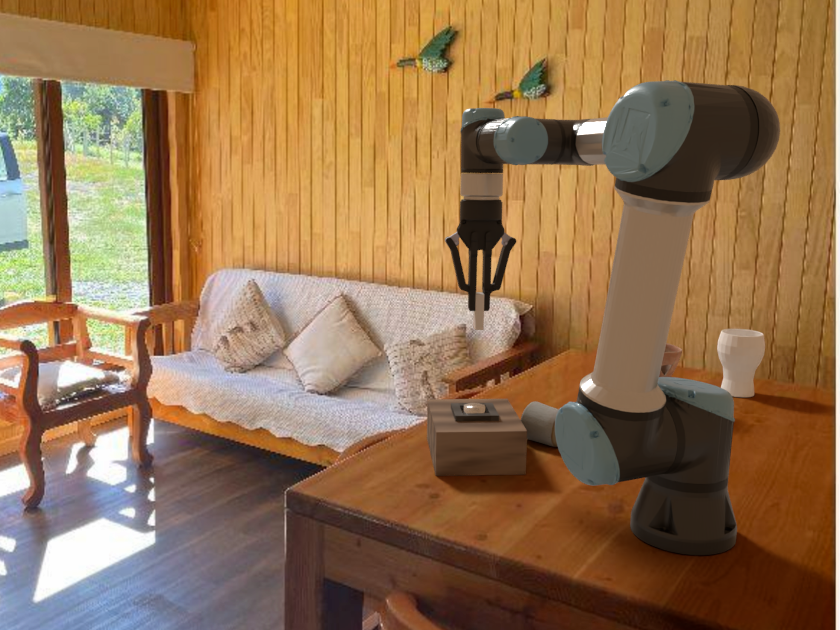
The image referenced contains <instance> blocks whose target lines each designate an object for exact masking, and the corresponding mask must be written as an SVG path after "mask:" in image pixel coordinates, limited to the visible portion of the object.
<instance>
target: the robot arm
mask: <svg viewBox="0 0 840 630" xmlns="http://www.w3.org/2000/svg"><path fill="white" fill-rule="evenodd" d="M505 116H506V115H505V112H504V110H503V109H501V108H498V107H497V108H494V107H476V108H474V107H473V108H466V109H465V110H464V111H463V113H462V115H461V120H462V121H461V128H460V131H459V133H460V193H459V194H460V196H461V197H463V199H461V200H460V201H459V223H458V225H457V228H456V232H455V233H453V234H451V235H450V236H446V237H445V238H444V242H445V244H446V246H447V247H448V249H449V250H450V255H451V259H452V264H453V268H454V272H455V277H456V282H457V286H458V288H459V290H461V291H464V292H467V308H468V311H469V312H473V325H472V326H473V328H474V330H475V331H484V328H485V327H484V326H485V325H484V323H485V312H489V311H490V308H491V307H490V306H491V294H492V293H493V292H495V291H499V290H500V289H501V287H502V283H503V279H504V276H505V273H506V269H507V266H508V262H509V257H510V253H511V252H512V249H513V248H514V246H515V245H516V244H517V239H516V238H515V237H513V236H511V235H509V234H508V233H506V232H505V227H504V226H503V201H502V200H501V199H500V197H502V196H503V193H504V165H513V166H518V165H520V166H526V165H545V166H547V165H558V166H559V165H560V166H561V165H563V166H564V165H565V166H566V165H568V166H584V167H585V166H586V167H587V166H589V167H590V166H596V165H597V166H598V165H600V166H601V165H603V166H604V165H605V166H606V169H607V170H608V172H610V174H611V175H612V176H613V177H615V181H614V190H615V191H616V193H617V194H618V196H619V197H620V198H621V199H622V201H623V207H622V212H621V218H620V222H619V223H620V224H619V229H618V234H617V239H616V246H615V251H614V258H613V263H612V268H611V273H610V277H609V278H610V279H609V283H608V284H609V285H608V289H607V290H608V291H607V295H606V301H605V306H604V311H603V318H602V324H601V329H600V334H599V339H598V345H597V350H596V357H595V361H594V367H593V371H592V372H591V373H588V374H587V375H585V376H584V377H583V378H581V380H580V381H579V382H580V383H579V386H578V387H579V388H578V393H577V398H576V401H568V402H567V403H565V404H563V406H561V407H560V408H558V409H559V411H558V413H557V415H556V419H555V436H556V442H557V446H558V447H557V449H558V452H559V454H560V456H561V459H562V461H563V463H564V465H565V467H566V468H567V470H568V471H569V472H570V474H571V475H573V477H574V478H575V479H577V480H578V481H579V482H581V483H583V484H584V485H588V486H593V487H594V486H595V487H596V486H603V485H609V486H613V485H616V484H618V483H622V482H628V481H632V480H633V481H634V480H638V479H644V480H643V483H642V485H641V487H640V489H639V492H638V495H637V497H636V499H635V501H634V503H633V506H632V509H631V511H630V525H629V526H630V530H631V532H632V534H633V535H634V536H636V537H637V538H638V539H639V540H641V541H642V542H645V543H646V544H647V545H651V546H652V547H655V548H658V549H660V550H664V551H665V552H670V553H675V554H682V555H689V556H708V555H709V556H710V555H715V554H721V553H724V552H727V551H729V550H731V549H732V548H733V547H735V545H736V542H737V533H738V524H737V521H736V516H735V513H734V509H733V506H732V501H731V498H730V497H731V496H730V494H729V487H728V486H729V477H730V476H729V474H730V467H731V454H732V444H733V443H732V442H733V433H734V424H735V421H736V419H735V417H734V414H735V401H734V396H731V394H730V393H729V392H728V391H726V390H724V389H722V388H721V386H717V385H715V384H711V383H707V382H703V381H699V380H695V379H690V378H689V379H688V378H682V377H675V376H671V377H659V375H660V370H661V365H662V361H663V356H664V351H665V347H666V343H667V341H668V337H669V332H670V327H671V322H672V318H673V313H674V309H675V304H676V299H677V294H678V290H679V285H680V281H681V277H682V270H683V268H684V267H683V266H684V262H685V258H686V254H687V253H686V252H687V248H688V242H689V239H690V234H691V229H692V225H693V220H694V215H695V213H696V212H697V211H699V210H701V208H703V207H704V206H706V205H708V204H709V203H710V201H711V198H712V192H713V188H714V185H715V184H714V183H715V181H731V180H736V179H741V178H742V179H743V178H745V177H747V176H750V175H752V174H754V173H755V172H757V171H759V170H760V169H761V168H762V167H763V166H765V165H766V164H767V163H768V161H769V160H770V159H771V158H772V156H773V155H774V153H775V151H776V150H777V147H778V145H779V141H780V135H781V124H780V123H781V122H780V118H779V115H778V112H777V110H776V108H775V107H774V105H773V104H772V103H771V102H770V100H769V99H768V98H767V97H766V96H764V95H763V94H761V92H760V91H757V90H755V89H752V88H750V87H747V86H742V85H736V84H716V83H715V84H713V83H702V82H701V83H700V82H691V81H678V80H676V79H675V80H661V81H660V80H655V81H646V82H641V83H639V84H636V85H634V86H632V87H631V88H629V89H627V91H626V92H625V93H624V95H622V96H620V97H619V98H618V100H617V101H616V102H615V104H614V105H613V107H612V108H611V110H610V112H609V114H608V116H607V117H597V118H595V117H594V118H585V119H584V118H583V119H553V118H535V117H531V116H525V115H524V116H523V115H521V116H520V115H516V116H515V115H514V116H512V117H507V118H505ZM459 239H461V242H463V245H464V246H465V247H466V248H467V249H468V268H467V269H468V272H467V275H468V276H467V277H468V279H467V283H466V279H465V274H464V270H463V265H462V260H461V256H460V252H459V251H460V250H459V248H458V246H459V244H460V240H459ZM500 240H501V243H500V244H501V245H502V247H501V249H500V254H499V258H498V261H497V265H496V267H495V272H494V276H493V279H492V256H493V249H494V248H495V247H496V245H497V244H498V243H499V242H500ZM479 251H482V270H481V271H482V277H481V278H482V279H481V289H482V290H481V292H480V291H477V284H478V283H477V282H478V281H477V277H478V275H477V274H478V256H479V255H478V253H479Z"/></svg>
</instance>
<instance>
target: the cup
mask: <svg viewBox="0 0 840 630" xmlns="http://www.w3.org/2000/svg"><path fill="white" fill-rule="evenodd" d="M716 348H717V349H716V350H717V354H718V359H719V361H720V363H721V366H722V373H723V376H722V377H723V378H722V381H721V384H720V385H721V386H720V388H722V389H724V390H726V391H728V392H729V393H730V394H731V396H732V397H733V398H734V397H735V398H751V397H754V396H755V384H754V378H755V373H756V370H757V369H758V367H759V365H760V364H761V363H762V360H763V359H764V356H765V353H766V352H765V351H766V350H765V349H766V340H765V335H764V333H763V332H760V331H758V330H753V329H745V328H725V329H721V331H720V333H719V336H718V340H717V347H716Z"/></svg>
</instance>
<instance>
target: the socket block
mask: <svg viewBox="0 0 840 630" xmlns="http://www.w3.org/2000/svg"><path fill="white" fill-rule="evenodd" d="M426 403H427V405H426V406H427V407H426V408H427V409H426V410H427V411H426V413H427V414H426V440H427V444H428V445H427V446H428V449H429V453H430V456H431V461H432V467H433V470H434V475H435V477H437V476H439V477H440V476H441V477H443V476H445V477H446V476H454V477H455V476H502V475H505V476H506V475H509V476H510V475H519V476H520V475H526V474H527V473H526V471H527V444H528V439H527V430H526V428H525V427H524V425H523V423H522V422H521V418H520V417H519V415H518V414H517V412H516V410H515V408H514V407H513V405H512V404H511V402H510V400H509V399H508V398H455V399H453V398H447V399H446V398H445V399H443V398H441V399H440V398H439V399H438V398H437V399H435V398H434V399H430V398H429V399H428V398H427V401H426ZM467 403H480V404H483V405H485V413H464V405H465V404H467Z"/></svg>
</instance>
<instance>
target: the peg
mask: <svg viewBox="0 0 840 630" xmlns="http://www.w3.org/2000/svg"><path fill="white" fill-rule="evenodd" d="M464 413H485V405H483V404H480V403H467V404H465V405H464Z"/></svg>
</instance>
